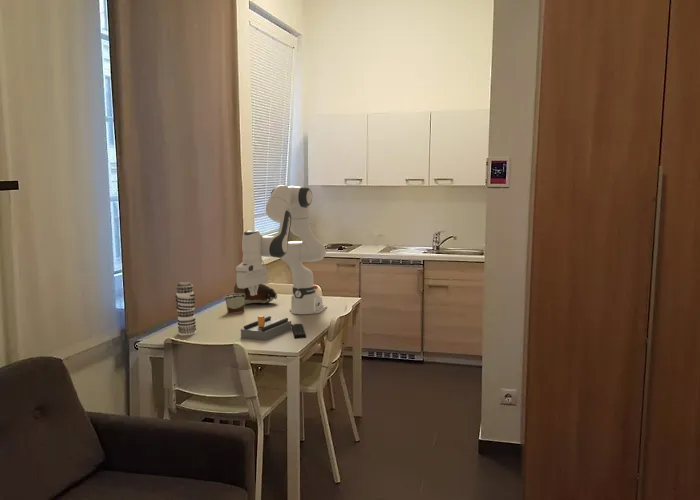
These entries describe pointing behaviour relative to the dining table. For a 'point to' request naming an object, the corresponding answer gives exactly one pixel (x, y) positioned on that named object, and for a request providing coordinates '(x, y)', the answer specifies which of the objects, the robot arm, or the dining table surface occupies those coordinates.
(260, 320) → the lever
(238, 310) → the food container
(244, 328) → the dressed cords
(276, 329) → the tray
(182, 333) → the decorative candle
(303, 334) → the remote control
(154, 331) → the dining table surface
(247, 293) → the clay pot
